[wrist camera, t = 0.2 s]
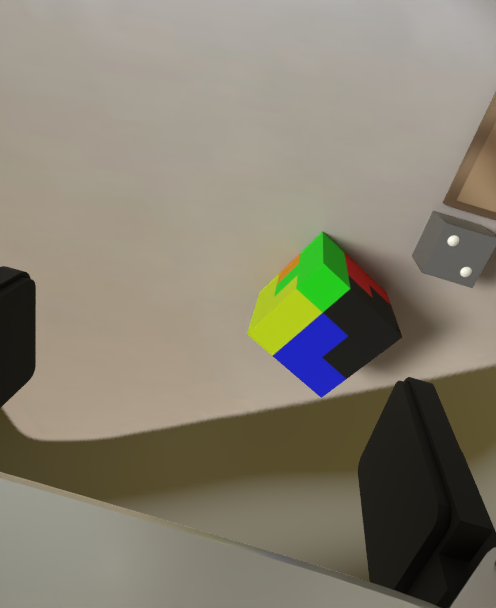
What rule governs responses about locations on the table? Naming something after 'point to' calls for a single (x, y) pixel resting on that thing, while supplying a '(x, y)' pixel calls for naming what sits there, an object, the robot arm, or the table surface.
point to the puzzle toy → (323, 317)
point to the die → (454, 249)
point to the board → (478, 171)
